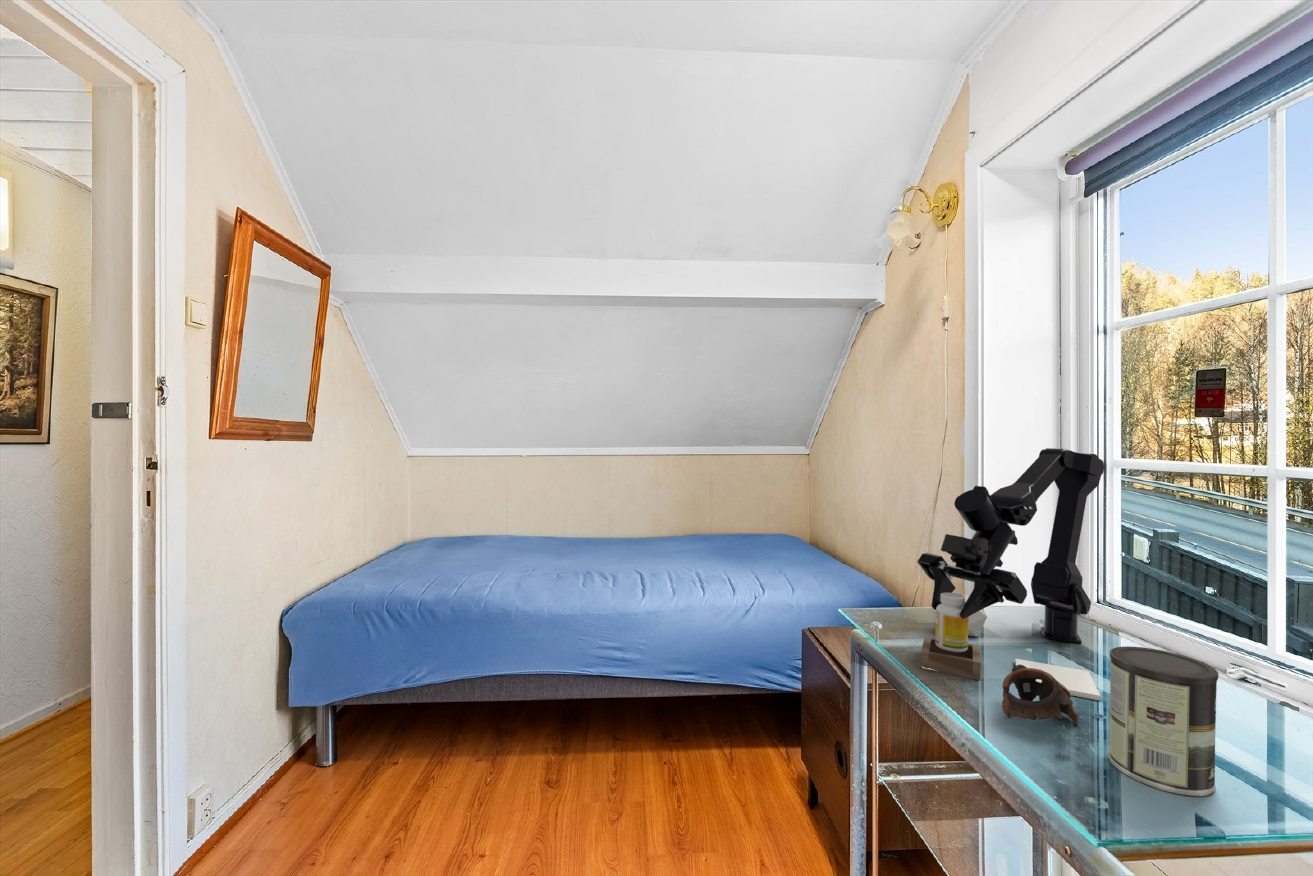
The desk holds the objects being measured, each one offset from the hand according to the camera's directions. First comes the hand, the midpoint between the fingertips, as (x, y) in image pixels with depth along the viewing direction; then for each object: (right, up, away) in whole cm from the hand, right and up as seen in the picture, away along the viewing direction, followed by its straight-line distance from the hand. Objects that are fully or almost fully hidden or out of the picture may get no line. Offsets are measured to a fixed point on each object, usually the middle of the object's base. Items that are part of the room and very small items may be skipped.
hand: (947, 612), depth 104 cm
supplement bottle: (+1, -7, +1) cm, 7 cm away
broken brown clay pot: (+4, -10, -18) cm, 21 cm away
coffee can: (+11, -11, -32) cm, 35 cm away
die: (+13, -10, +18) cm, 24 cm away
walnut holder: (+1, -10, +1) cm, 10 cm away
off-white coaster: (+16, -10, -5) cm, 20 cm away
